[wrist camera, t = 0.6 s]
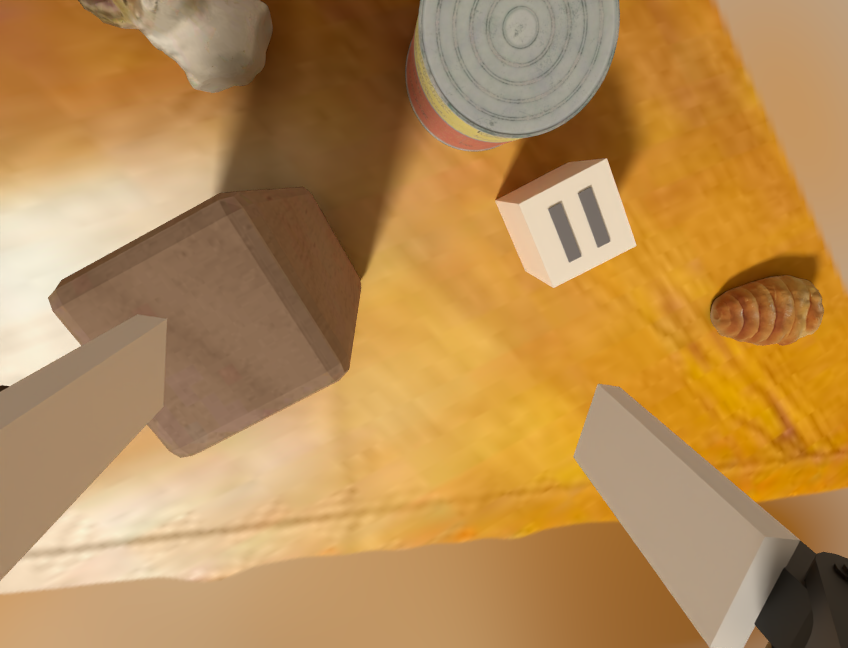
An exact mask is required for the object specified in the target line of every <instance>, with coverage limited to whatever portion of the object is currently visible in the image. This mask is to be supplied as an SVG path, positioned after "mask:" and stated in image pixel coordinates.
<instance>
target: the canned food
mask: <svg viewBox="0 0 848 648" xmlns="http://www.w3.org/2000/svg"><path fill="white" fill-rule="evenodd" d="M619 21H620V10H619V0H420V6H419V15H418V19H417V23H416V27H415V31H414V35H413V38H412V40H411V43H410V46H409V50H408V54H407V59H406V68H405V79H406V88H407V93H408V97H409V100H410V103H411V106H412V108H413V110H414V112H415V114H416V116H417V118H418V119H419V121H420V122H421V124H422V125H423V126H424V128H425V129H426V130H427V131H428V132H429V133H430V134H431V135H432V136H434V137H435V138H436V139H438V140H439V141H441V142H442V143H444V144H446V145H448V146H450V147H453V148H456V149H459V150H464V151H484V150H489V149H492V148H495V147H498V146H500V145H502V144H505V143H508V142H511V141H515V140H518V139H521V138H527V137H532V136H537V135H540V134H543V133H546V132H549V131H551V130H553V129H556V128H557V127H559V126H561V125H563V124H564V123H566V122H567V121H569V120H570V119H572V118H573V117H574V116H575V115H576V114H578V113H579V112H580V111H581V110H582V109H583V108H584V107H585V106H586V105H587V104H588V102H589V101H590V100H591V99H592V97H593V96H594V95H595V93H596V92H597V90H598V89H599V87H600V86H601V84H602V82H603V80H604V79H605V76H606V74H607V72H608V70H609V68H610V65H611V62H612V59H613V56H614V53H615V49H616V45H617V40H618V33H619Z"/></svg>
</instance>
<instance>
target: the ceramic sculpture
mask: <svg viewBox="0 0 848 648" xmlns="http://www.w3.org/2000/svg"><path fill="white" fill-rule="evenodd" d="M78 1H79V2H80V3H81V4H82V6H83V7H84V9H86V10H87V11H89V12H91V13H93V14H94V15H95V16H97V17H98V18H99V19H100V20H101V21H102V22H103V23H106V24H110V25H113V26H116V27H120V28H125V29H139V30H140V31H141V32H142V33H143V34H144V35H145V36H146V37H147V38H148V40H149V41H150V42H151V43H152V44H153V46H155V47H156V48H157V49H158V50H161V51H163V52H164V53H165V54H166V55H168V56H169V57H170V58H172V59H173V60H175V61H176V62H177V63H178V64H179V66H180V67H181V68H182V69H183V70H184V71H185V73H186V75H187V78H188V80H189V82H190V84H191V86H192V87H193V88H195V89H197V90H202V91H206V92H211V93H214V92H220V91H222V90H225V89H227V88H230V87H232V86H244V85H247V84H249V83H250V82H252V81H253V79H254V77H255V76H256V75H257V74H258V73H259V72H261V71H262V69H263V68H264V66H265V61H266V50H267V47H268V45H269V42H270V39H271V35H272V30H273V26H272V20H271V15H270V11H269V8H268V6H267V5H266V4H265V3H263V2H262V1H260V0H78Z"/></svg>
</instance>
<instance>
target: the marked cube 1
mask: <svg viewBox="0 0 848 648" xmlns="http://www.w3.org/2000/svg"><path fill="white" fill-rule="evenodd" d="M495 202H496V204H497V206H498V209H499V211H500V213H501V215H502V218H503V220H504V222H505V225H506V227H507V229H508V232H509V234H510V236H511V239H512V241H513V243H514V246H515V248H516V250H517V253H518V255H519V257H520V260H521V262H522V264H523V266H524V269H525V271H526V272H528V273H529V274H531V275H533V276H534V277H536V278H538V279H540V280H541V281H543V282H545V283H546V284H548V285H550V286H551V287H553V288H554V287H556V286H558V285H560V284H562V283H564V282H566V281H568V280H570V279H572V278H574V277H576V276H578V275H580V274H582V273H584V272H586V271H588V270H590V269H592V268H594V267H596V266H598V265H600V264H602V263H604V262H605V261H607V260H609V259H611V258H613V257H615V256H617V255H619V254H621V253H623V252H625V251H627V250H629V249H631V248H633V247H635V246H636V243H635V240H634V237H633V234H632V231H631V228H630V225H629V222H628V219H627V216H626V213H625V210H624V207H623V204H622V201H621V198H620V195H619V192H618V189H617V187H616V184H615V181H614V178H613V175H612V172H611V169H610V166H609V163H608V160H607V158H604V159H595V160H585V161H575V162H568V163H566V164H564V165H562V166H560V167H558V168H556V169H554V170H552V171H550V172H548V173H547V174H545V175H543V176H541V177H539V178H537V179H535V180H533V181H531V182H529V183H527V184H526V185H524V186H522V187H520V188H518V189H516V190H514V191H512V192H510V193H508V194H506V195H504V196H503V197H501V198H499V199H497V200H495Z"/></svg>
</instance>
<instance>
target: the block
mask: <svg viewBox="0 0 848 648" xmlns="http://www.w3.org/2000/svg"><path fill="white" fill-rule="evenodd" d="M360 292H361V282H360V278H359V276H358V275H357V273H356V271H355V269H354V267H353V266H352V264H351V262H350V260H349V259H348V257H347V255H346V253H345V252H344V250H343V248H342V246H341V245H340V243H339V241H338V239H337V238H336V236H335V234H334V232H333V231H332V229H331V227H330V225H329V224H328V222H327V220H326V218H325V217H324V215H323V213H322V211H321V210H320V208H319V206H318V204H317V203H316V201H315V199H314V197H313V196H312V194H311V193H310V192H309V191H308V190H307V189H305V188H304V187H295V188H281V189H267V190H253V191H239V192H226V193H219V194H217V195H216V196H214V197H212V198H210V199H208V200H206V201H205V202H203V203H201V204H199V205H197V206H196V207H194V208H192V209H190V210H188V211H186V212H185V213H183V214H181V215H179V216H177V217H176V218H174V219H172V220H170V221H168V222H166V223H165V224H163V225H161V226H159V227H157V228H155V229H154V230H152V231H150V232H148V233H146V234H145V235H143V236H141V237H139V238H137V239H135V240H134V241H132V242H130V243H128V244H126V245H125V246H123V247H121V248H119V249H117V250H115V251H114V252H112V253H110V254H108V255H106V256H104V257H103V258H101V259H99V260H97V261H95V262H94V263H92V264H90V265H88V266H86V267H84V268H83V269H81V270H79V271H77V272H75V273H74V274H72V275H70V276H68V277H66V278H64V279H63V280H61V282H60V283H59V285H58V286H57V288H56V289H55V290H54V292H53V293H52V294H51V295H50V296H49V297H48V299H49V302H50V305H51V307H52V310H53V312H54V313H55V314H56V316H57V317H58V318H59V319H60V320H61V322H62V323H63V324H64V325H65V326H66V328H67V329H68V330H69V331H70V332H71V334H72V335H73V336H74V337H75V338H76V340H77V341H78V342H79V343H80V344H81V346H82V345H84V344H86V343H88V342H89V341H91V340H93V339H95V338H97V337H98V336H100V335H102V334H104V333H105V332H107V331H109V330H111V329H113V328H114V327H116V326H118V325H120V324H121V323H123V322H125V321H127V320H128V319H130V318H132V317H134V316H136V315H137V314H138V315H145V316H152V317H158V318H165V319H167V331H166V355H165V378H164V402H163V408H162V409H161V410H160V411H159V412H158V413H157V414H156V415H155V416H154V417H153V418H152V419H151V420H150V422H149V423H148V424H147V425H148V426H149V427H150V428H151V430H152V431H153V432H154V433H155V434H156V436H157V437H158V438H159V439H160V440H161V442H162V443H163V444H164V445H165V446H166V448H167V449H168V450H169V451H170V452H172V453H173V454H175V455H177V456H179V457H180V458H181V457H188V456H192V455H195V454H197V453H200V452H202V451H204V450H205V449H207V448H209V447H211V446H213V445H215V444H217V443H219V442H221V441H223V440H225V439H227V438H229V437H231V436H233V435H235V434H236V433H238V432H240V431H242V430H244V429H246V428H248V427H250V426H252V425H254V424H256V423H258V422H260V421H262V420H264V419H266V418H268V417H269V416H271V415H273V414H275V413H277V412H279V411H281V410H283V409H285V408H287V407H289V406H291V405H293V404H295V403H297V402H299V401H300V400H302V399H304V398H306V397H308V396H310V395H312V394H314V393H316V392H318V391H320V390H322V389H324V388H326V387H328V386H330V385H331V384H333V383H335V382H337V381H339V380H340V379H341V378H342V377H343V376H344V375H345V373H346V372H347V371H348V370H349V367H350V360H351V353H352V346H353V340H354V333H355V326H356V319H357V313H358V306H359V299H360Z"/></svg>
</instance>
